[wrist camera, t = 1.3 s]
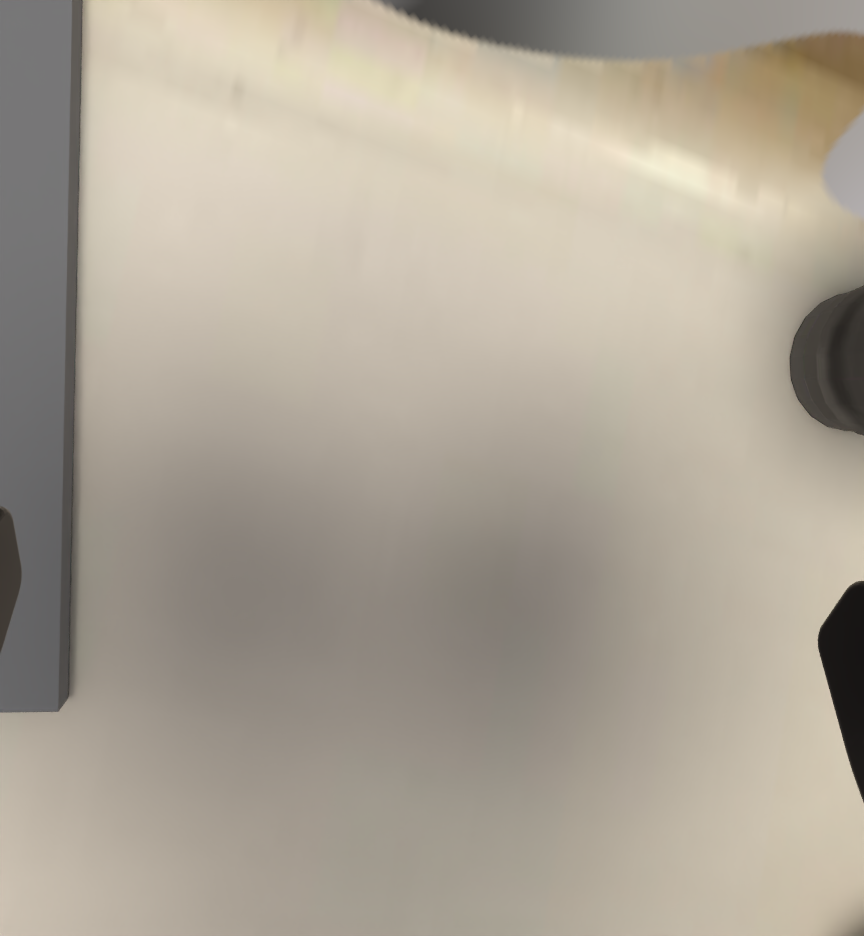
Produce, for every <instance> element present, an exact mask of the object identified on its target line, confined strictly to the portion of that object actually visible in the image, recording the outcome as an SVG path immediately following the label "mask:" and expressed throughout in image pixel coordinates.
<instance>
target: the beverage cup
mask: <svg viewBox="0 0 864 936" xmlns="http://www.w3.org/2000/svg"><path fill="white" fill-rule="evenodd" d="M790 364H791V380H792V383H793V386H794V388H795V391H796V394H797V397H798V400H799V401H800V402H801V403H802V405H803V406H804V407H805V409H806V410H807V411H808V413H809V414H810V415H811V416H812V417H814V418H815V419H817V420H818V421H820V422H821V423H823V424H824V425H826V426H828V427H832V428H836V429H840V430H845V431H854V432H856V433H857V434H860V435H864V286H862V287H860V288H858V289H855V290H853V291H851V292H849V293H845V294H840V295H837V296H835V297H833V298H831V299H828V300H826V301H824V302H822V303H820V304H819V305H818V306H817V307H816V308H815V309H814V310H813V311H812V312H811V313H810V314H809V315H808V316H807V317H806V318H805V320H804V321H803V323H802V325H801V327H800V328H799V330H798V332H797V334H796V336H795V339H794V343H793V348H792V352H791V356H790Z"/></svg>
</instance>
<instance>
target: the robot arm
mask: <svg viewBox="0 0 864 936" xmlns="http://www.w3.org/2000/svg"><path fill="white" fill-rule="evenodd" d="M21 579H22V567H21V561H20V555H19V549H18V544H17V538H16V533H15V527H14V521H13V517H12V515H11V513H10V511H9V510H8V509H7V508H5V507H2V506H0V654H1V651H2V647H3V644H4V641H5V638H6V634H7V631H8V628H9V624H10V621H11V618H12V614H13V611H14V608H15V605H16V601H17V598H18V595H19V591H20V586H21ZM818 649H819V653H820V657H821V660H822V664H823V668H824V671H825V675H826V678H827V682H828V686H829V689H830V693H831V697H832V700H833V704H834V708H835V711H836V715H837V719H838V722H839V726H840V730H841V733H842V737H843V741H844V744H845V748H846V751H847V755H848V758H849V761H850V765H851V768H852V771H853V774H854V777H855V780H856V783H857V786H858V788H859V791H860V794H861V797H862V799H863V802H864V581H858V582H855V583H854V584H852V585H850V586H849V587H848V588H847V590H846V591H845V593H844V594H843V595H842V597H841V598H840V600H839V601H838V603H837V604H836V606H835V607H834V609H833V610H832V611H831V613H830V614H829V616H828V617H827V619H826V620H825V622H824V623H823V625H822V626H821V628H820V631H819V635H818Z"/></svg>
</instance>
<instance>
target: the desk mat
mask: <svg viewBox="0 0 864 936" xmlns="http://www.w3.org/2000/svg"><path fill="white" fill-rule="evenodd" d="M81 39H82V0H0V506H2V507H5V508H7V509H8V510H9V511H10V513H11V515H12V517H13V521H14V527H15V533H16V538H17V544H18V549H19V555H20V561H21V567H22V579H21V586H20V591H19V595H18V598H17V601H16V605H15V608H14V611H13V614H12V618H11V621H10V624H9V628H8V631H7V634H6V638H5V641H4V644H3V647H2V651H1V654H0V712H58V711H59V710H60V709H61V707H62V706H63V704H64V703H65V702H66V700H67V699H68V675H69V626H70V577H71V528H72V479H73V430H74V381H75V332H76V283H77V234H78V185H79V136H80V87H81Z"/></svg>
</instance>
